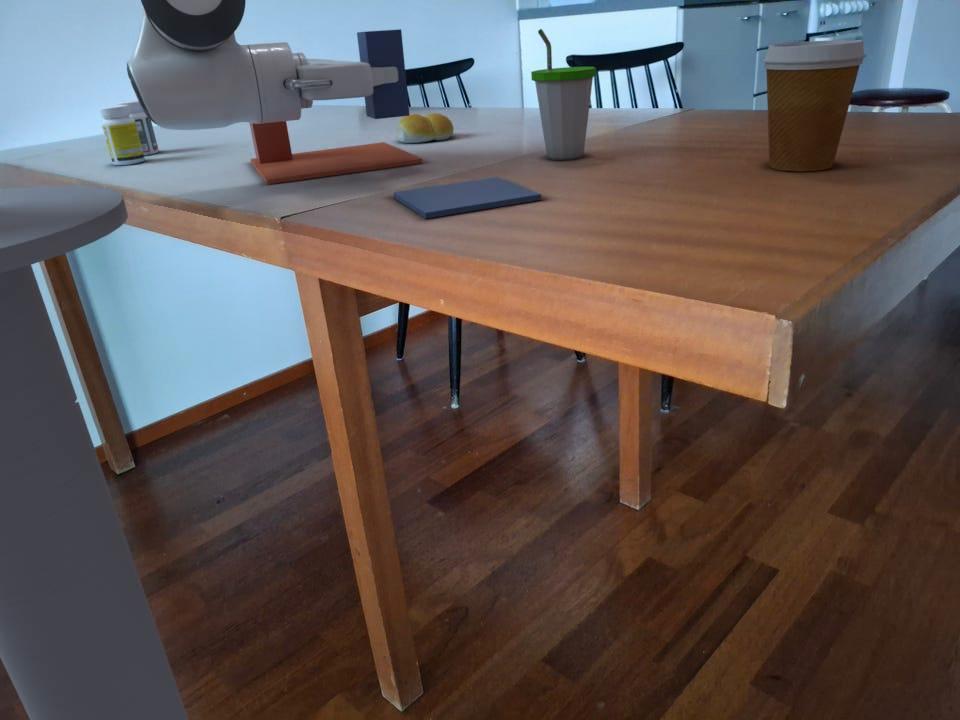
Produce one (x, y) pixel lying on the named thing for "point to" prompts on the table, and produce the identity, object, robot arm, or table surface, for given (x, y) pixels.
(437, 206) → the blue mat
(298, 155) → the red mat
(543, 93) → the cup
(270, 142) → the red block
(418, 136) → the bread roll
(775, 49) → the disposable coffee cup
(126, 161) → the supplement bottle
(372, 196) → the table surface
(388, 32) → the blue block
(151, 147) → the pill bottle
